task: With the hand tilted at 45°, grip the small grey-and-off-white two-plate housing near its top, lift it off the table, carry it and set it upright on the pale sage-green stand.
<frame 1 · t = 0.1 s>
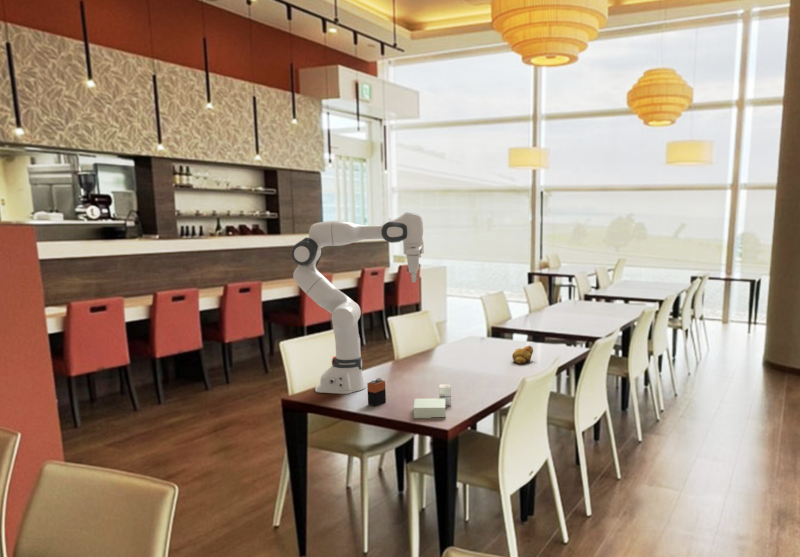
hand: (414, 281, 243), 48 cm above the table, tool pointing down, fingers open, 8 cm apart
housing: (445, 403, 224), on the table
bread roll: (521, 362, 287), on the table
battery: (377, 403, 227), on the table
stand: (430, 413, 213), on the table
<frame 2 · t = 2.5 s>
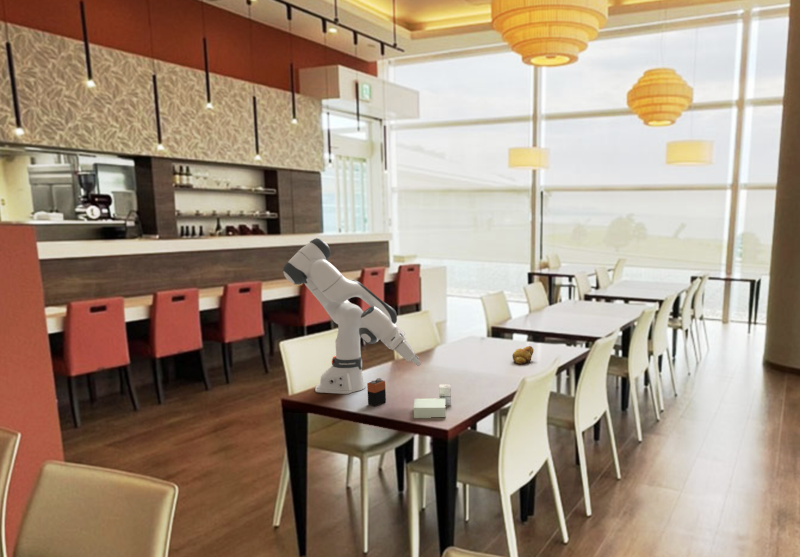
hand: (418, 362, 223), 17 cm above the table, tool tilted 45°, fingers open, 8 cm apart
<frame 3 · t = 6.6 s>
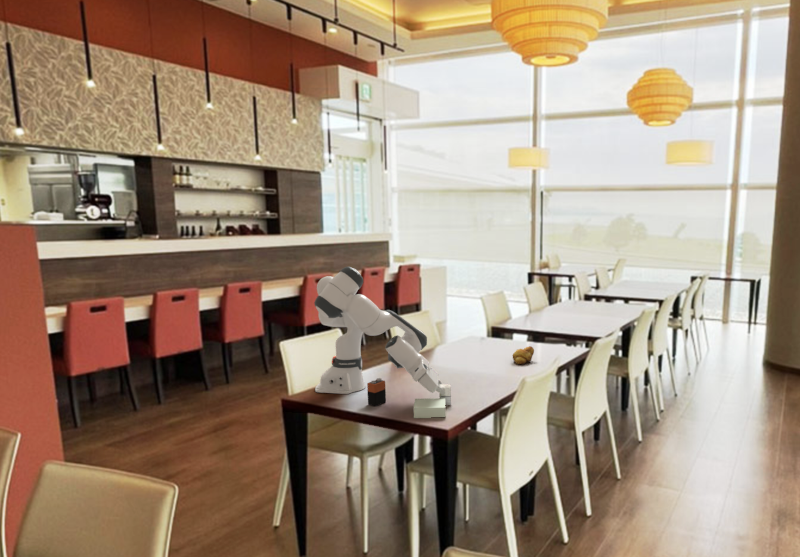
hand: (444, 391, 223), 5 cm above the table, tool tilted 45°, fingers closed on housing, 4 cm apart
housing: (445, 403, 224), on the table, touching gripper
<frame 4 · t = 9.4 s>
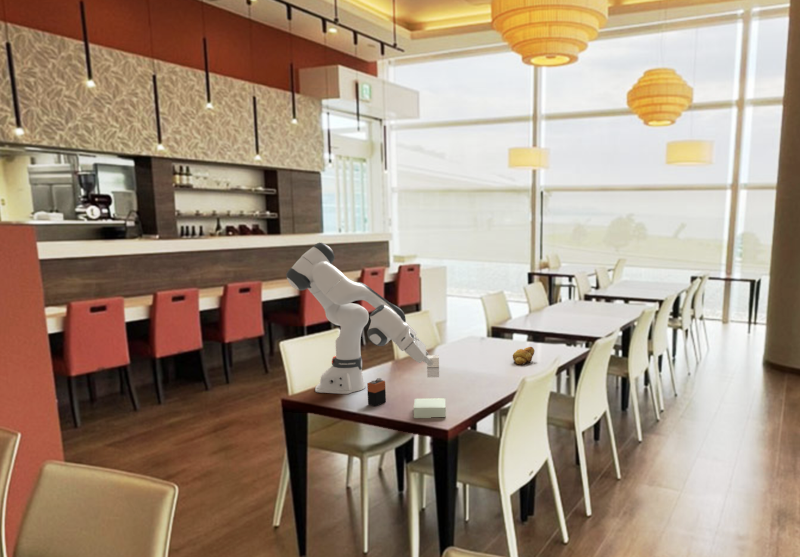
hand: (431, 362, 213), 19 cm above the table, tool tilted 45°, fingers closed on housing, 4 cm apart
housing: (433, 375, 214), point 14 cm above the table, touching gripper
when the fingers open (11 cm above the table, at t = 12.4 s): housing drops 1 cm, resting on stand.
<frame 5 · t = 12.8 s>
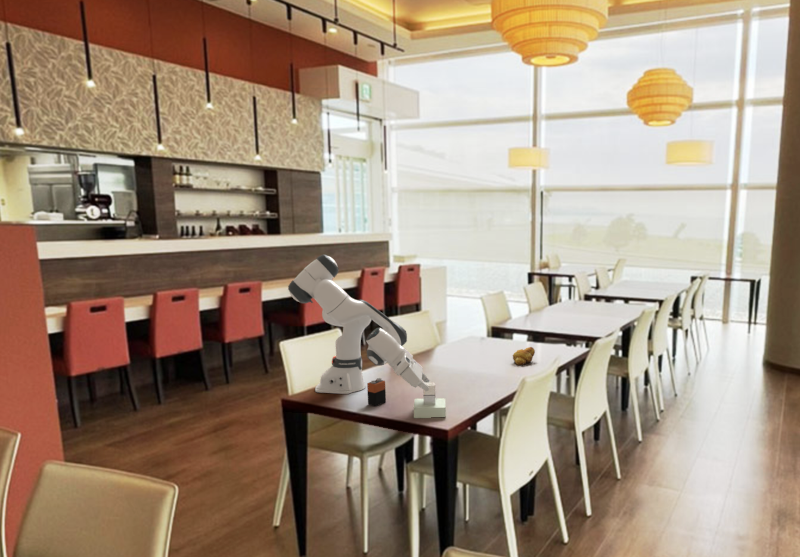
hand: (428, 386, 212), 11 cm above the table, tool tilted 45°, fingers open, 8 cm apart
housing: (429, 402, 213), point 4 cm above the table, touching stand
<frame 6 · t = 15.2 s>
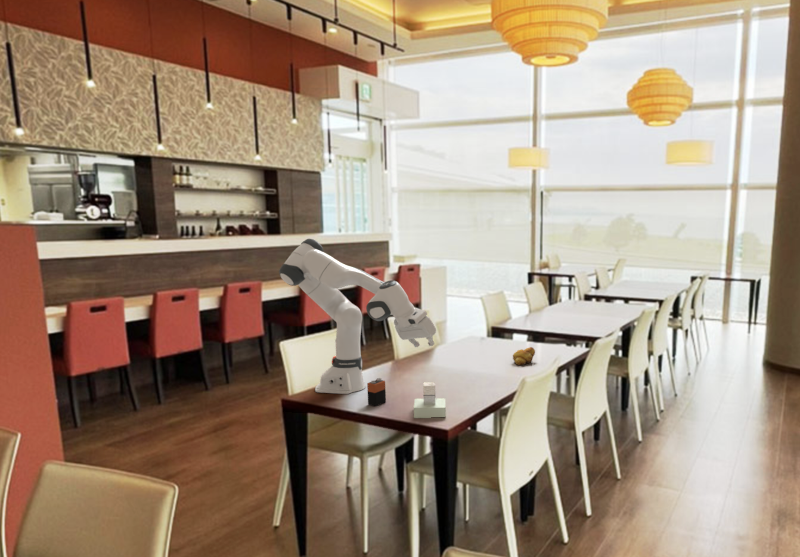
hand: (424, 345, 221), 24 cm above the table, tool tilted 30°, fingers open, 8 cm apart
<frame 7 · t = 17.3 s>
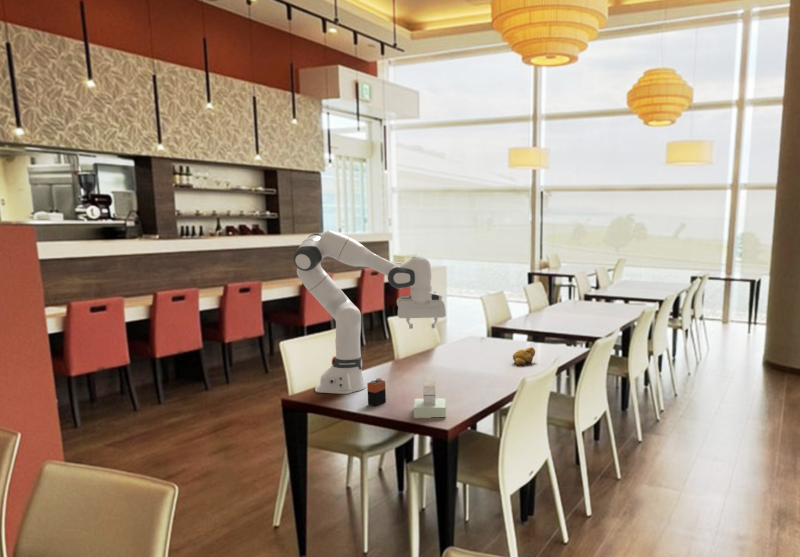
hand: (422, 328, 233), 29 cm above the table, tool pointing down, fingers open, 8 cm apart
at the end: housing inside the target area on the stand (0.1 cm from its centre), point 4.0 cm above the stand's base; housing tilted 0°; the gripper is holding nothing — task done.
